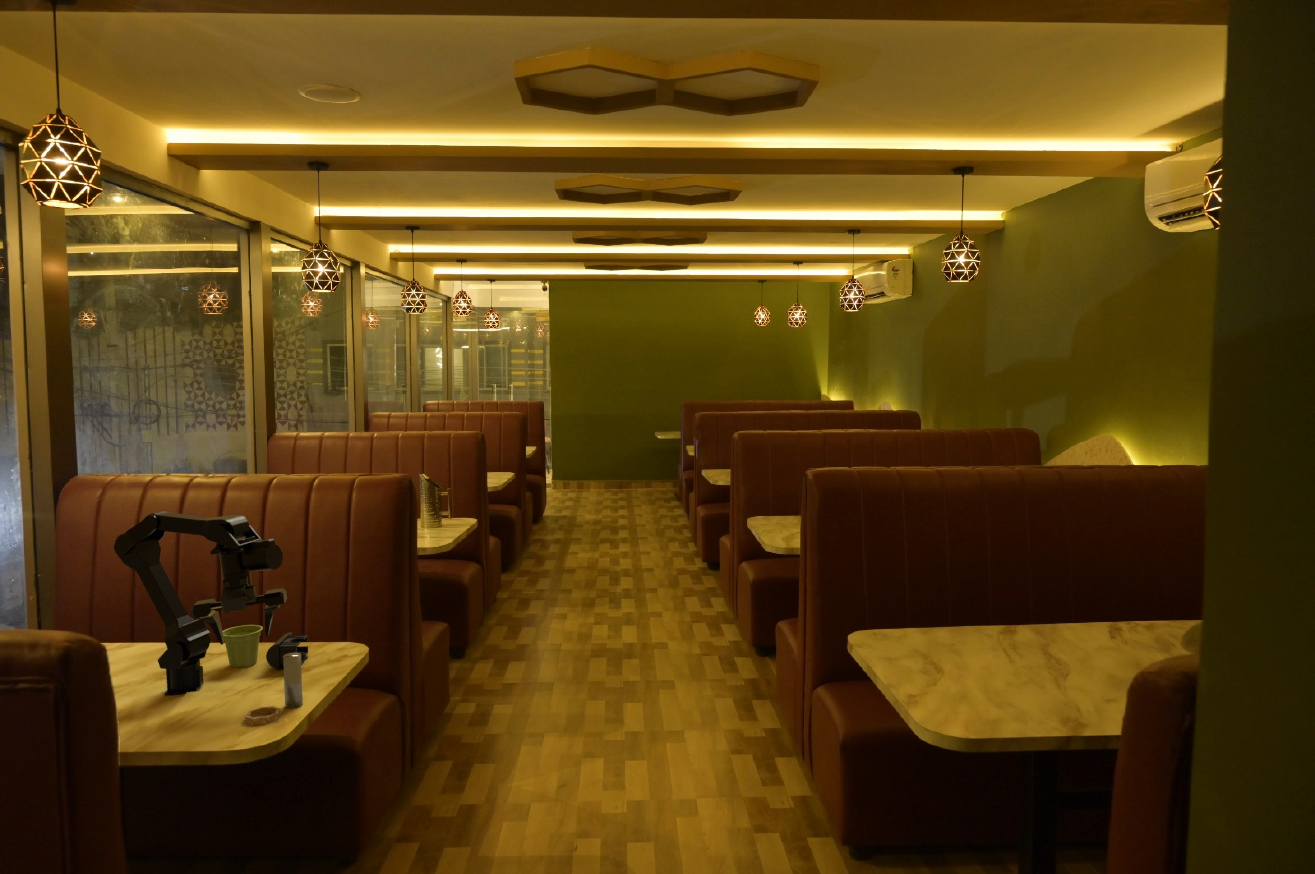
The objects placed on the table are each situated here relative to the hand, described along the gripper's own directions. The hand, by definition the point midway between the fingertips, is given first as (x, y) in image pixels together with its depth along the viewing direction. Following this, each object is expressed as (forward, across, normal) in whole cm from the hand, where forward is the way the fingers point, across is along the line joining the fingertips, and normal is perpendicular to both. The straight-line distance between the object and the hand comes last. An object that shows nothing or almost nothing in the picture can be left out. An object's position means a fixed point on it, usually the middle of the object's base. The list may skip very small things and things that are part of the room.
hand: (245, 640), depth 186 cm
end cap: (+12, +6, +19) cm, 23 cm away
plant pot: (+11, -5, +23) cm, 26 cm away
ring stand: (+14, +5, -18) cm, 23 cm away
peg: (+14, +10, -13) cm, 21 cm away
